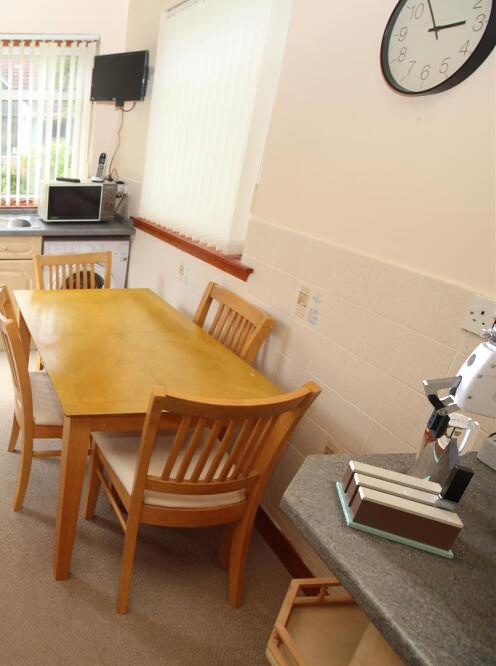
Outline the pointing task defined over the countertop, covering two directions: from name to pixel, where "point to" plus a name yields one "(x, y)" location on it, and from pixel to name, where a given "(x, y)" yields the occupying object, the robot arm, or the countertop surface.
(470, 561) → the countertop surface
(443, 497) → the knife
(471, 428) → the beer glass
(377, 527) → the slatted panel
